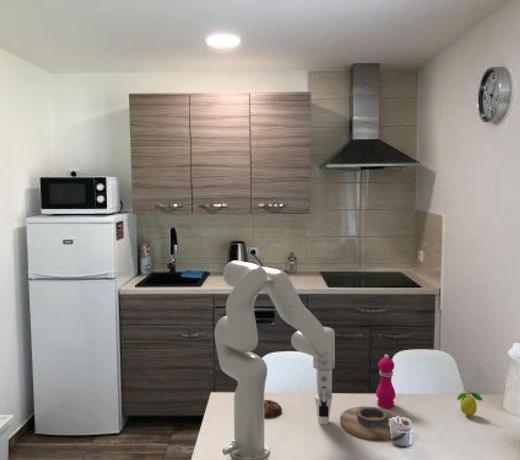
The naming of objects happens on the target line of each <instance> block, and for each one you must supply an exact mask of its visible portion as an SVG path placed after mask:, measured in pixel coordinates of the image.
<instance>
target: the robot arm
mask: <svg viewBox="0 0 520 460" xmlns="http://www.w3.org/2000/svg"><path fill="white" fill-rule="evenodd" d="M222 277H223V280H224V282H225V284H227V285H229V286H230V287H233V288H232V290H231V292H230V293H229V295H228V297H227V300H226V303H225V311H226V315H225V316H222V317H221V318H220V319H219V320H218V321H217V322H216V324H215V327H214V340H215V341H214V342H215V348H216V353H217V358H218V364H219V367H220V369H221V370H222V372H223V373H224V374H226V375H227V376H229V377H231V378H232V379H234V380H235V381H237V386H236V389H235V391H234V396H233V411H234V412H233V415H234V416H233V417H234V418H233V421H234V423H233V427H234V428H233V431H234V438H233V439H231V443H230V444H229V446H227V447H224V448H223V449H222V451H221V452H222V454H223V455H224V456H226V455H229V454H230V456H231V457H232V458H234V459H235V460H263V459H265V458H266V457H267V456H268V455H269V453H270V445H269V444H268V443H267V442H266V441H265V417H264V400H265V392H266V390H265V389H266V382H267V376H268V366H267V363H266V361H265V360H264V359H263V358H262V357H261V356H259V355H257V354H256V353H254V352H253V351H254V350H255V349H256V348H257V345H258V342H259V333H258V328H257V322H256V315H255V303H256V302H255V301H256V299H257V297H258V295H259V294H260V293H264V294H267V296H269V298H270V300H271V302H272V303H273V306H274V308H275V309H276V312H277V313H278V315H279V317H280V318H281V319H282V320H283V321H284V322H285V323H286V324H288V325H290V326H291V327H293V328H294V329H295V330H297V331H295V332H294V333H293V334H292V335H291V340H290V342H291V346H292V347H293V348H294V349H295V350H296V351H298V352H301V353H303V354H306V355H309V356H310V357H312V367H313V369H314V370H316V375H315V376H316V391H317V393H318V397H319V398H320V405H319V416H320V417H328V398H332V399H333V394H332V393H333V392H332V391H333V390H332V389H333V383H332V382H333V371H332V370H334V369H335V363H336V362H335V359H336V357H335V353H336V352H335V349H336V347H335V346H336V345H335V344H336V343H335V341H336V340H335V337H336V336H335V335H336V333H335V330H334V329H333V328H332V327H327V326H323V325H322V324H321V322H320V321H319V320H318V318H317V317H316V316H315V315H314V314H313V313H311V311H310V310H309V309H308V308H307V307H306V306H305V305H304V304H303V302H302V300H301V298H300V297H299V294H298V292H297V290H296V288H295V286H294V284H293V283H292V280H291V278H290V277H289V275H288V273H286V272H285V271H284V270H281V269H276V268H272V267H267V266H262V265H259V264H256V263H252V262H246V261H241V260H231V261H230V262H228V263H227V264H226V265H225V266H224V268H223V271H222ZM326 394H327V397H326ZM321 395H322V396H321ZM321 398H322V400H321Z"/></svg>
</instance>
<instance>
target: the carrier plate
mask: <svg viewBox="0 0 520 460" xmlns="http://www.w3.org/2000/svg"><path fill="white" fill-rule="evenodd" d="M396 416H399V415H398V414H397V413H395V412H394V411H391V410H389V409H385V408H381V407H375V406H356V407H352V408H349V409H346V410H344V411H343V412H342V413H341V414H340V419H339V421H340V422H339V423H340V426H341V428H342V429H343V430H344V431H345V432H346V433H348V434H350V435H352V436H353V437H357V438H360V439H363V440H369V441H389V440H390V441H391V440H392V439H391V433H390V426H389V419H390V418H392V417H396Z"/></svg>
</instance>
